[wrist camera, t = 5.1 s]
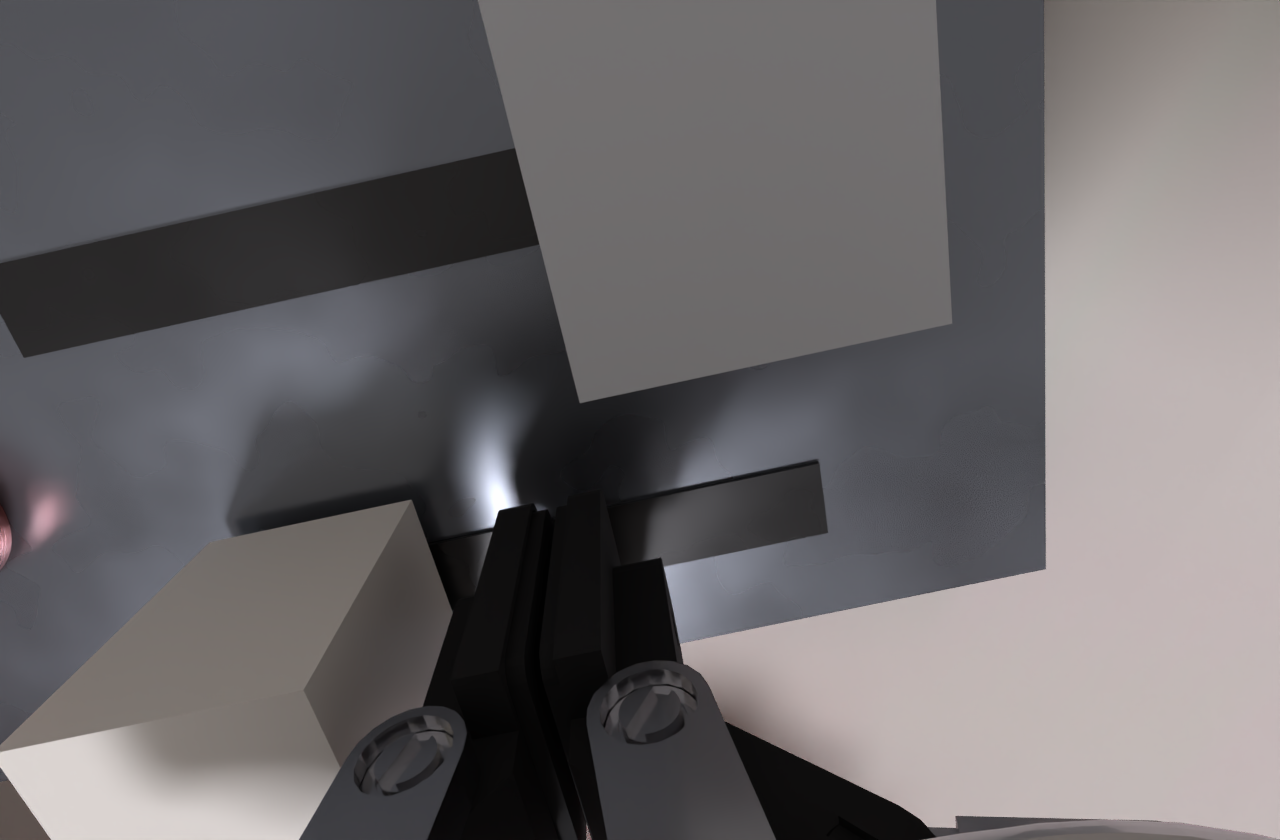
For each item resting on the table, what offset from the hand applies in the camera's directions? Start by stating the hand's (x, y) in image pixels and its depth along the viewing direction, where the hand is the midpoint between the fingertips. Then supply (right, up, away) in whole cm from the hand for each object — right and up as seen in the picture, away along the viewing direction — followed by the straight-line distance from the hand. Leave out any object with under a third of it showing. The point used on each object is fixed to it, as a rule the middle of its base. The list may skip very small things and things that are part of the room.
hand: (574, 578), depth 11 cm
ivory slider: (-4, -1, +1) cm, 4 cm away
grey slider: (+2, +6, -1) cm, 7 cm away
